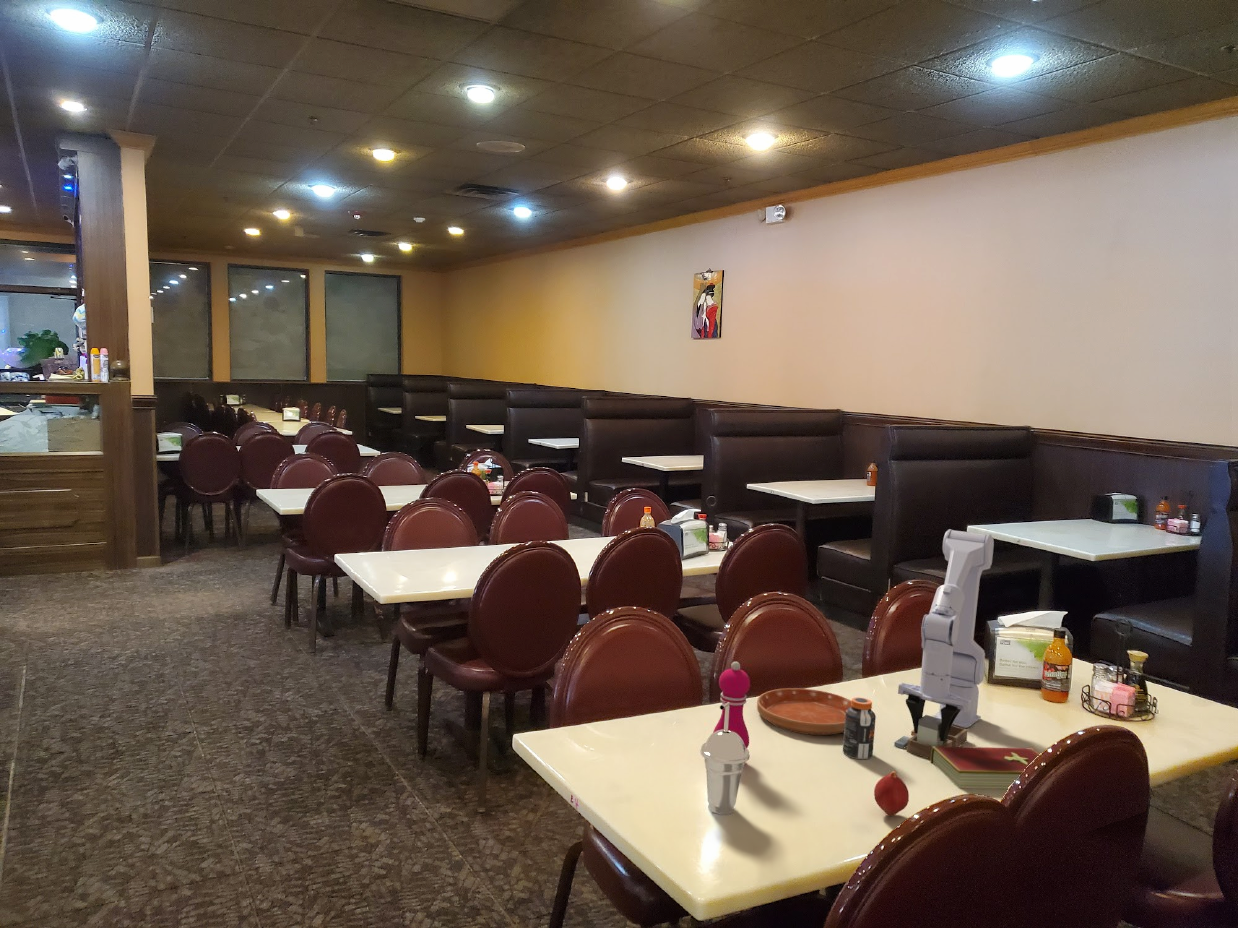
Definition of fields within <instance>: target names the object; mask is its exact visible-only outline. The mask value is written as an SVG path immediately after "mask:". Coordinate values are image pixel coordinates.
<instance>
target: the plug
mask: <svg viewBox="0 0 1238 928" xmlns="http://www.w3.org/2000/svg"><path fill="white" fill-rule="evenodd" d="M940 733H941V719H939V718H936V717H933V716H932V715H928V714H925V715H924V716H923V717H922V718H920V719H919V723H918V734H917V742H920V743H924V744H927V745H930V746H939V747H941V746H942V745H943V741H940Z"/></svg>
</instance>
